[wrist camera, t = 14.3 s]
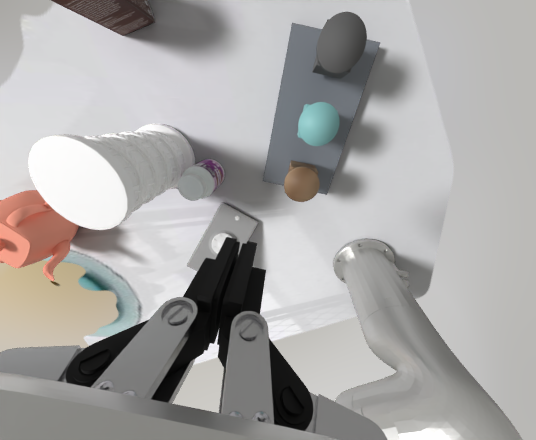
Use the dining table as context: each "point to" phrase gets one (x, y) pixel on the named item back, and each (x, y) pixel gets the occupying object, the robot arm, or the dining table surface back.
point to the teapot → (33, 232)
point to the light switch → (222, 234)
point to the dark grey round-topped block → (340, 45)
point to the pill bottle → (201, 179)
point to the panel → (309, 92)
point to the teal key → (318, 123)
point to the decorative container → (108, 172)
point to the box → (113, 13)
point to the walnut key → (301, 181)
